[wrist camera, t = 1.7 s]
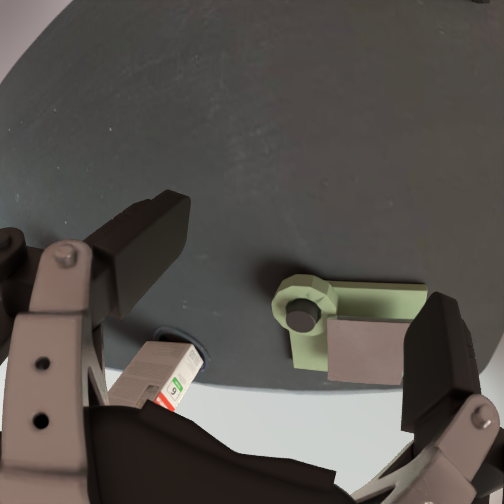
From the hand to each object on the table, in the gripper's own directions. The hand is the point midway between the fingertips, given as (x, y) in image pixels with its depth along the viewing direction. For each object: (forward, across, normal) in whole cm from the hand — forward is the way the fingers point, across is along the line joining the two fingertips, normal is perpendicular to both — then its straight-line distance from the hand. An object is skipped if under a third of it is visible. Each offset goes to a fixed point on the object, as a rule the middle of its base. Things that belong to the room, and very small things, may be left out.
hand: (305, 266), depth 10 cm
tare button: (+12, -2, +12) cm, 17 cm away
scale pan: (+11, -8, +14) cm, 20 cm away
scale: (+14, -7, +14) cm, 21 cm away
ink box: (+14, +11, +30) cm, 35 cm away
